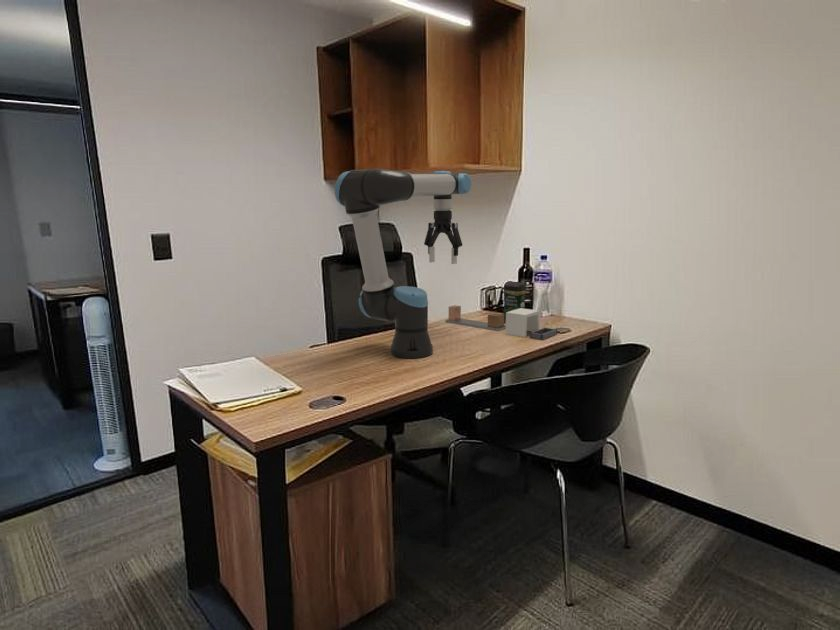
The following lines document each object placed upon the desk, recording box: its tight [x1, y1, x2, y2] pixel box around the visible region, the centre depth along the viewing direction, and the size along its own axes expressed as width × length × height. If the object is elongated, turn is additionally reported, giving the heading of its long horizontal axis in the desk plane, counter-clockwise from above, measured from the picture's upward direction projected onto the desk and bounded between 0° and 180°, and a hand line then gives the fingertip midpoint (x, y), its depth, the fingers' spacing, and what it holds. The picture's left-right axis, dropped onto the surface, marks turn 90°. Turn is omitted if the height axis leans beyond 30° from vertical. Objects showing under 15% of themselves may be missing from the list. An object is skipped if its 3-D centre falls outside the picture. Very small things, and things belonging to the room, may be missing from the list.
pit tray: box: [529, 327, 558, 341], centre depth 205 cm, size 12×6×2 cm, turn 139°
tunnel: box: [505, 308, 541, 338], centre depth 211 cm, size 11×9×9 cm
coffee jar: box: [502, 281, 527, 324], centre depth 229 cm, size 10×8×19 cm
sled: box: [445, 304, 506, 332], centre depth 226 cm, size 7×28×7 cm, turn 49°
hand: (442, 263), depth 218 cm, fingers open, 11 cm apart
